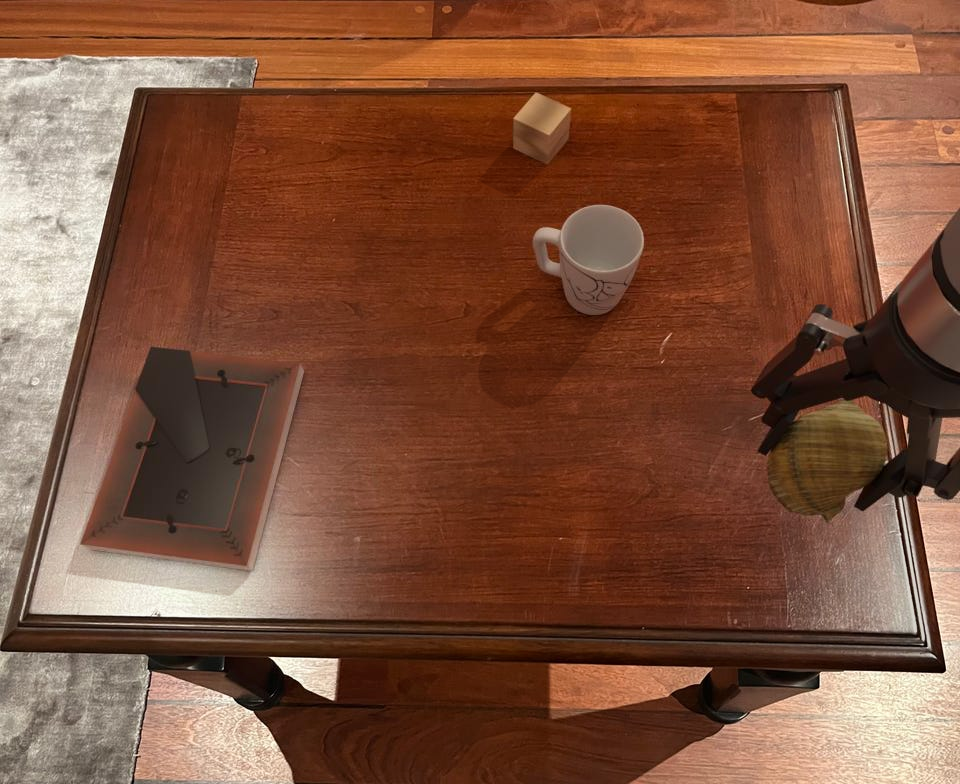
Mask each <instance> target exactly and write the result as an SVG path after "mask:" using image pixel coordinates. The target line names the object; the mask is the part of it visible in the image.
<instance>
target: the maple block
mask: <svg viewBox="0 0 960 784" xmlns="http://www.w3.org/2000/svg"><path fill="white" fill-rule="evenodd" d="M571 118H572V108H571V107H569V106H567V105H565V104H562V103H561V102H558V101H556V100H554V99H551V98H550V97H548V96H546V95H543V94H541V93H538V92H535V93H534V94H533V95H532V96H531V97H530V98H529V100H528V101H527V102H526V103H525V104H524V105H523V107H522V108H521V109H520V110H519V111H518V112H517V113H516V114H515V116H514V117H513V119H512V120H513V122H512V123H513V124H512V125H513V128H512V141H513V142H512V149H513V150H515V151H518V152H519V153H522V154H524V155H526V156H528V157H530V158H532V159H534V160H536V161H539V162H540V163H542V164H544V165H546V166H549V164H550V163H551V161H552V160H553V159H554V157H555V156H556V155H557V154H558V153H559V152H560V150H561V149H562V148H563V147H564V145H565V144H566V143H567V142H568V140H569V138H570V128H571Z"/></svg>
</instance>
